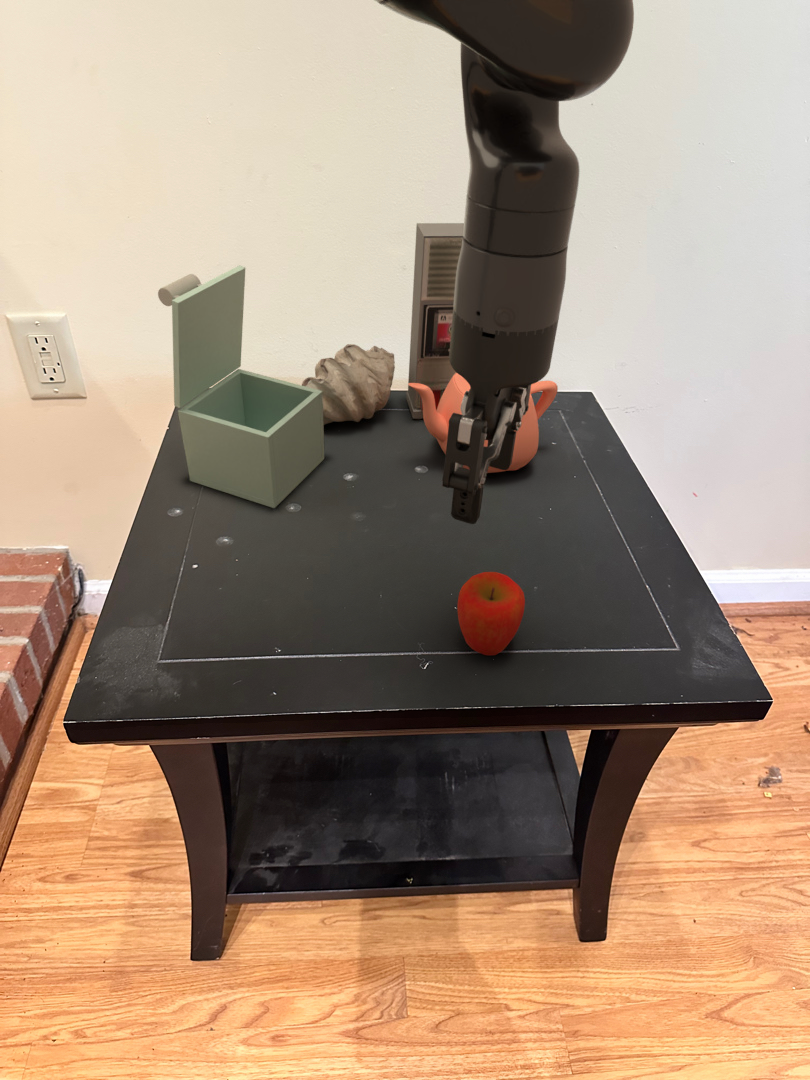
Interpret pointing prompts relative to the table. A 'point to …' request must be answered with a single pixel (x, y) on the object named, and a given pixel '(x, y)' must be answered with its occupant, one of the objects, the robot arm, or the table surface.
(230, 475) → the pale green hollow box
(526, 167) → the robot arm
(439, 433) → the teapot
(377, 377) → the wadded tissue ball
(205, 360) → the lid
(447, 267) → the cassette tape recorder
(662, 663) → the table surface
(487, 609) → the apple
